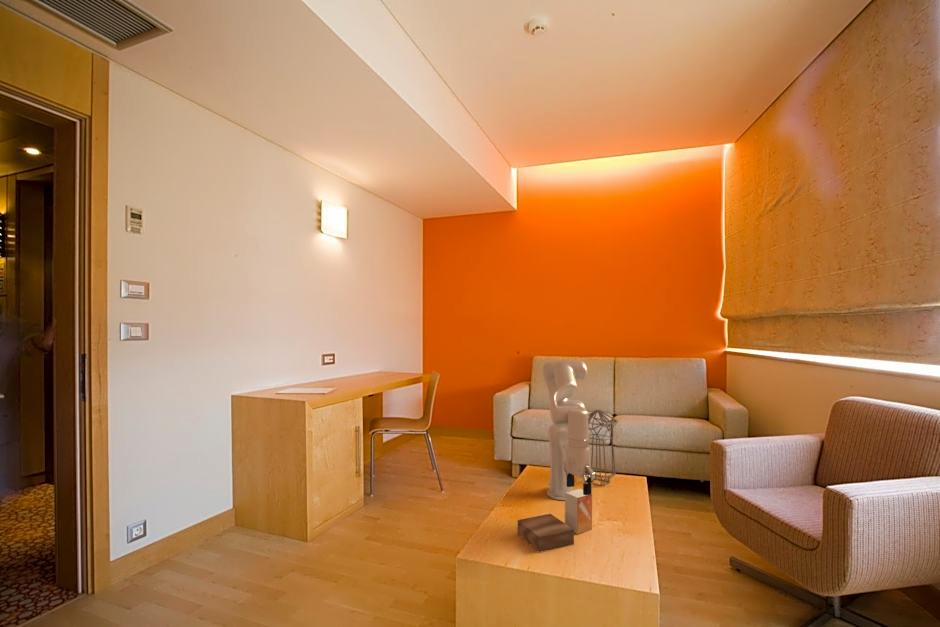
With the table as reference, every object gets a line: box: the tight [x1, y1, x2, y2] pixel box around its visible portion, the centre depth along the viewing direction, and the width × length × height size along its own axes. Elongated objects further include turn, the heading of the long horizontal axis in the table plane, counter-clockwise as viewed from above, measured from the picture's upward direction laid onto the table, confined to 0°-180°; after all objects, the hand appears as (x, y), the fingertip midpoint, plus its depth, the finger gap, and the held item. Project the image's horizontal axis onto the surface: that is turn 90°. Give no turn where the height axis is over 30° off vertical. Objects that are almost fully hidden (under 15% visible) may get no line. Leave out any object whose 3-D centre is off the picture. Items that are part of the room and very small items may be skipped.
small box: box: [564, 488, 593, 535], centre depth 159 cm, size 8×6×13 cm
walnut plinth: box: [517, 513, 575, 553], centre depth 151 cm, size 14×14×5 cm
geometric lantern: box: [588, 409, 620, 487], centre depth 211 cm, size 16×16×35 cm
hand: (578, 490), depth 159 cm, fingers open, 9 cm apart
